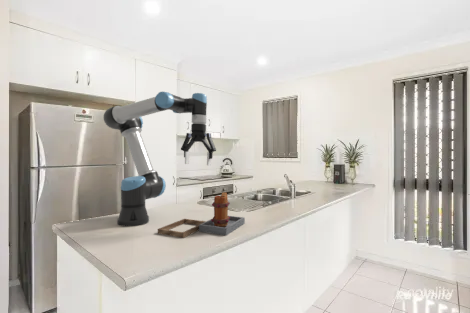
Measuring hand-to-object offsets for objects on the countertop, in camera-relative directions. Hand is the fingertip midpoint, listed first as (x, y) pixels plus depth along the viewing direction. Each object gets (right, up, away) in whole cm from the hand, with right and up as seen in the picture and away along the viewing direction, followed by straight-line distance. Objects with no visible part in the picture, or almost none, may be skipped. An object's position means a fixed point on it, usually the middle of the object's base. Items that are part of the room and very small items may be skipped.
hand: (197, 164), depth 131 cm
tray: (+14, -30, -9) cm, 34 cm away
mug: (+13, -29, -9) cm, 33 cm away
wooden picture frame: (-4, -30, -13) cm, 33 cm away
